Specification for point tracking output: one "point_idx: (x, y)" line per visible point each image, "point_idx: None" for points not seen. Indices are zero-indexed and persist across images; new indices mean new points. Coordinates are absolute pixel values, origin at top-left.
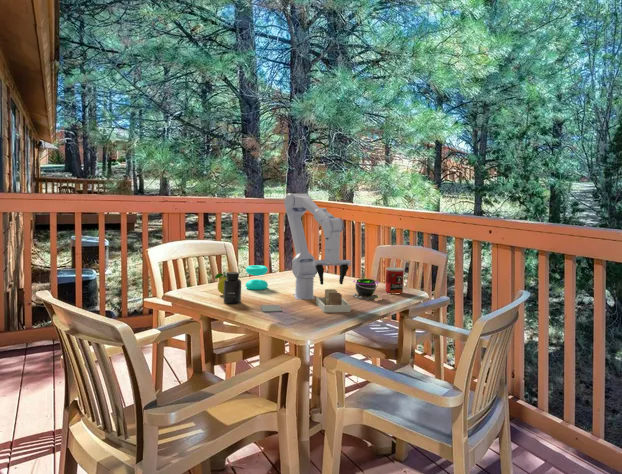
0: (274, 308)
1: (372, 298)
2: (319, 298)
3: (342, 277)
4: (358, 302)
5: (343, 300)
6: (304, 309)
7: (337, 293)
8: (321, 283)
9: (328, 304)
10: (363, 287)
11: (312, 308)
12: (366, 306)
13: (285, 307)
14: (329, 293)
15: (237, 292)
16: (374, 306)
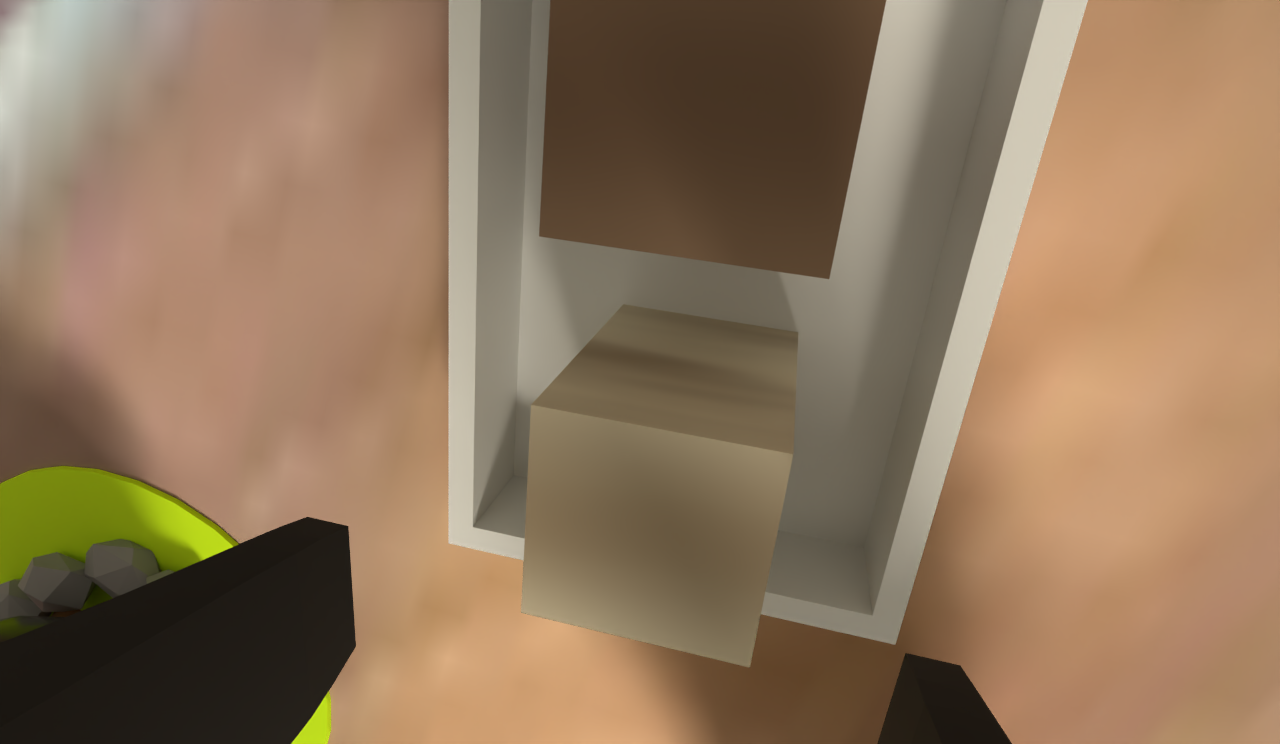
0: None
1: (59, 559)
2: (840, 599)
3: (122, 629)
4: (252, 496)
5: (478, 309)
6: (1256, 344)
7: (611, 151)
8: (979, 694)
9: (768, 340)
10: None
11: (1060, 371)
12: (186, 268)
13: None
14: (842, 205)
15: None
16: (85, 240)
